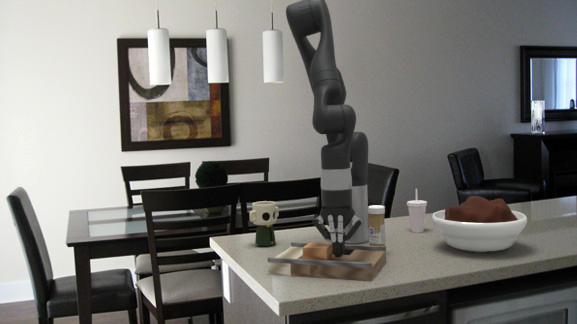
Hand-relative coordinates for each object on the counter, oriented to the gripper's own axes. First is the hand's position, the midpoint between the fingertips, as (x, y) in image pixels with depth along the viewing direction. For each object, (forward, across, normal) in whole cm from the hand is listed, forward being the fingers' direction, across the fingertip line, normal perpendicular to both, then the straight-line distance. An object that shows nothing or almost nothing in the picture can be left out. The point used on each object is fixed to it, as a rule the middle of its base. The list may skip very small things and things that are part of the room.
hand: (338, 256), depth 142 cm
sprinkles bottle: (+4, -6, -19) cm, 20 cm away
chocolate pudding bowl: (+4, -32, -30) cm, 44 cm away
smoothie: (+4, -13, -51) cm, 53 cm away
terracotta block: (+1, +5, 0) cm, 5 cm away
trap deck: (+4, +4, -3) cm, 6 cm away
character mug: (+4, +29, -24) cm, 38 cm away
